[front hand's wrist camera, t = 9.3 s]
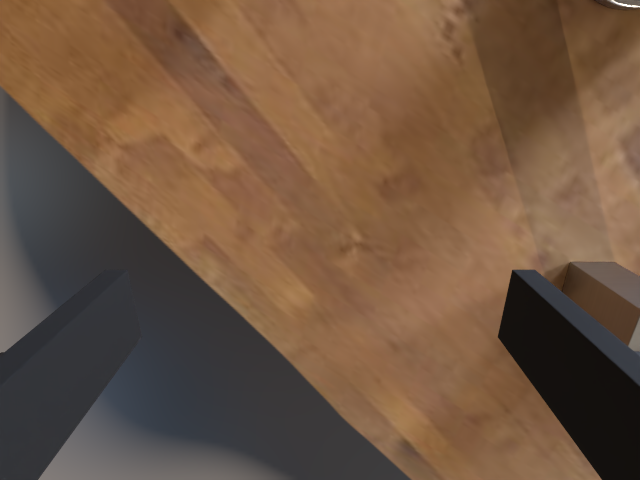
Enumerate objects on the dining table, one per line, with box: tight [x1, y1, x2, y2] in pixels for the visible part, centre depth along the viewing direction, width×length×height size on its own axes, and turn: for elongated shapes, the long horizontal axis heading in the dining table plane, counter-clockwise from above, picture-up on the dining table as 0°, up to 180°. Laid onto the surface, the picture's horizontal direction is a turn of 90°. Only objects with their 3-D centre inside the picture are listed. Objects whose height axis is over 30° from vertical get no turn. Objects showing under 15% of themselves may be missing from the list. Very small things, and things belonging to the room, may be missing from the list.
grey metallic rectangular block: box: [562, 262, 640, 351], centre depth 44 cm, size 6×8×12 cm
